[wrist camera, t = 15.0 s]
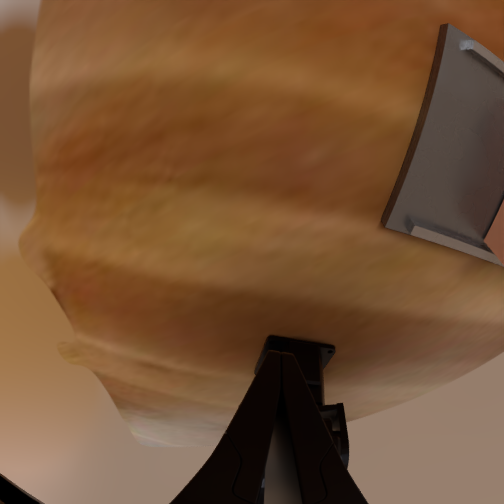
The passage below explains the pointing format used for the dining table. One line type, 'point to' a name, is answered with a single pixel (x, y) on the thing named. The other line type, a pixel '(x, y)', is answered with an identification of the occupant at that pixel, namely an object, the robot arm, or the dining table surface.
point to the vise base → (455, 151)
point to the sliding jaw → (497, 235)
